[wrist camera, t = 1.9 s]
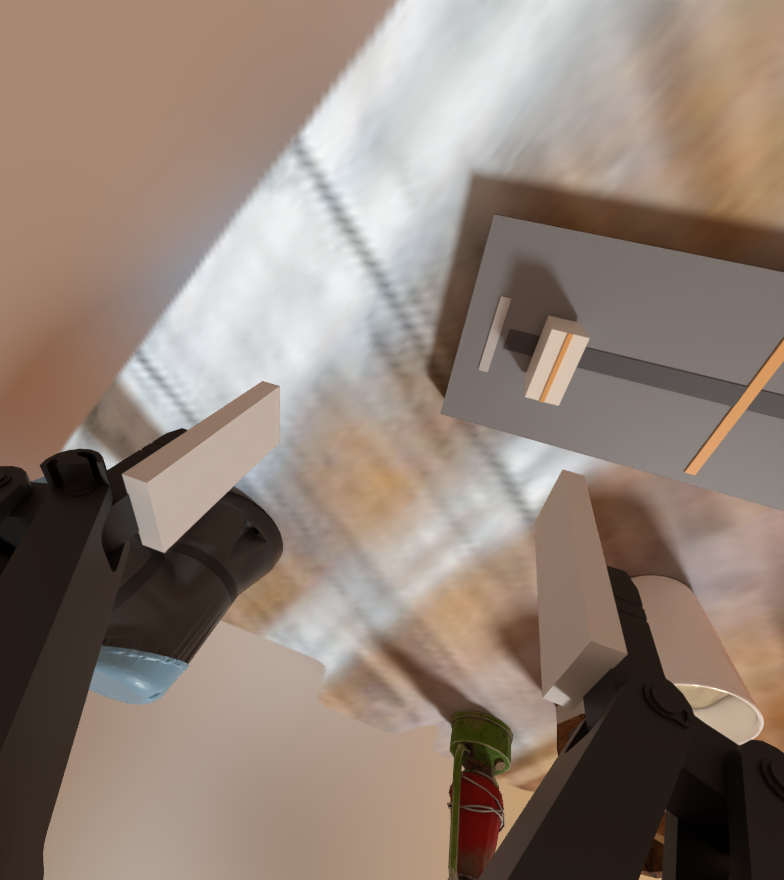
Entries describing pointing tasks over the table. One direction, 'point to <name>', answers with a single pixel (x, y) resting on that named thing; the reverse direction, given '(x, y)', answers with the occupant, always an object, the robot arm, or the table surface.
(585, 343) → the fader
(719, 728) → the candle holder
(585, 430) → the panel
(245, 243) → the table surface
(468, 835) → the lantern
